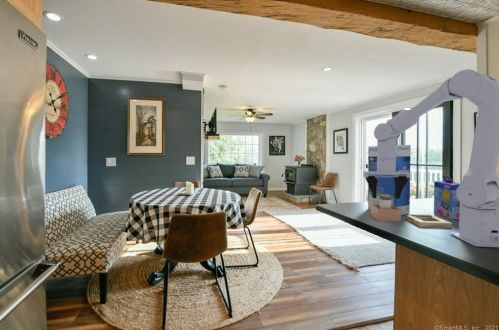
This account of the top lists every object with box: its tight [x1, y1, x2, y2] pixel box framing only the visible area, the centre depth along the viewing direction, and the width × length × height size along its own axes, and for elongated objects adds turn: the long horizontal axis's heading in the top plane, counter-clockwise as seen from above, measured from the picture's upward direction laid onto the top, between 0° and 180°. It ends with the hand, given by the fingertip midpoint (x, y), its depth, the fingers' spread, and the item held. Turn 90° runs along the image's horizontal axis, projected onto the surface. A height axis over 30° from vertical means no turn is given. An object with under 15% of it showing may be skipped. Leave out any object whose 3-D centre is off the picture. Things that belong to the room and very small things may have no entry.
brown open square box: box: [370, 205, 402, 223], centre depth 87 cm, size 7×7×4 cm
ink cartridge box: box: [433, 175, 462, 220], centre depth 90 cm, size 10×6×14 cm, turn 174°
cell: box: [380, 194, 392, 209], centre depth 87 cm, size 4×4×8 cm
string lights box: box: [367, 144, 412, 216], centre depth 97 cm, size 13×8×26 cm, turn 22°
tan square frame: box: [405, 213, 453, 229], centre depth 81 cm, size 9×9×2 cm
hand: (385, 198), depth 87 cm, fingers open, 7 cm apart
